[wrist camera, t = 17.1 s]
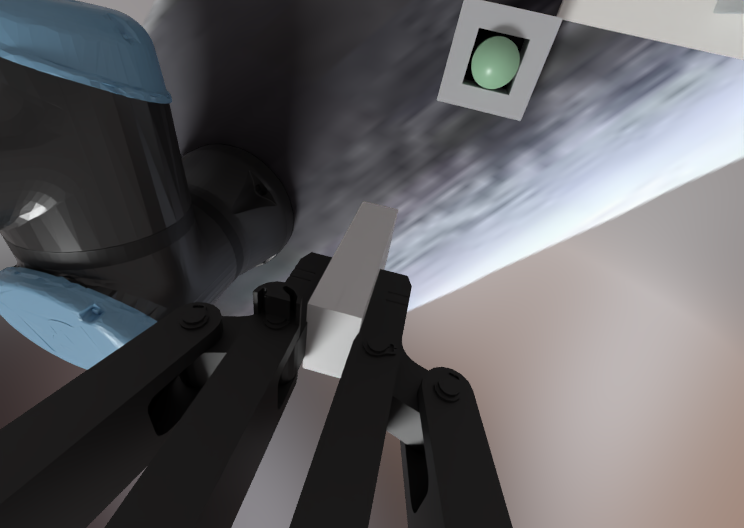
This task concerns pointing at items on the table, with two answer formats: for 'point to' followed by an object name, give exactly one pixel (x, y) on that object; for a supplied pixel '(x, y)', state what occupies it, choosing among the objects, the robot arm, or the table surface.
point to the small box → (729, 7)
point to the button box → (532, 55)
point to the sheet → (664, 22)
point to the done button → (495, 62)
